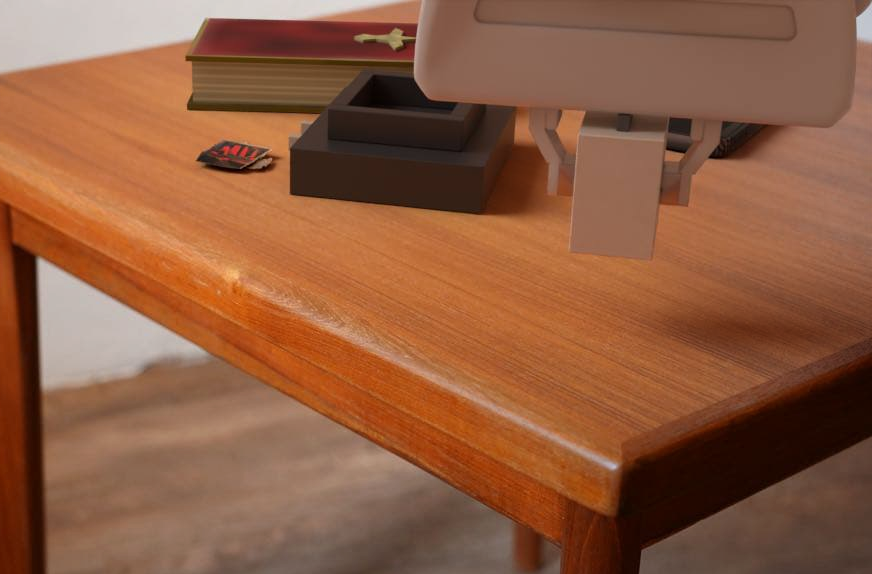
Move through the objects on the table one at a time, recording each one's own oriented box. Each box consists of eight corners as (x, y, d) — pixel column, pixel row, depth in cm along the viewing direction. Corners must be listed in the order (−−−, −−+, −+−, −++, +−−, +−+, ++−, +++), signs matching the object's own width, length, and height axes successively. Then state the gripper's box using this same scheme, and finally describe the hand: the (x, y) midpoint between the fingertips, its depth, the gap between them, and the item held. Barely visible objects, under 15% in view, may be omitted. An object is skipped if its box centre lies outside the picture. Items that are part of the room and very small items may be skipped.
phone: (615, 122, 100) (691, 74, 111) (614, 138, 100) (689, 88, 111) (726, 143, 96) (793, 90, 107) (724, 159, 96) (791, 105, 108)
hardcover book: (207, 65, 116) (206, 13, 114) (469, 72, 115) (472, 20, 113) (187, 109, 105) (185, 51, 103) (476, 117, 104) (479, 60, 102)
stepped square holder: (513, 144, 99) (519, 72, 97) (481, 214, 87) (486, 134, 85) (322, 126, 102) (323, 56, 100) (264, 191, 90) (264, 113, 88)
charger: (657, 224, 74) (671, 93, 70) (652, 260, 69) (666, 124, 66) (578, 217, 74) (589, 88, 71) (568, 253, 70) (579, 117, 67)
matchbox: (191, 167, 93) (191, 159, 93) (215, 143, 98) (215, 136, 97) (261, 173, 92) (261, 166, 92) (282, 149, 97) (282, 142, 97)
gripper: (882, -96, 65) (835, 193, 71) (436, -113, 70) (428, 161, 76) (895, -72, 60) (842, 240, 66) (409, -92, 64) (403, 201, 70)
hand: (617, 197), depth 71 cm, fingers closed on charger, 4 cm apart
